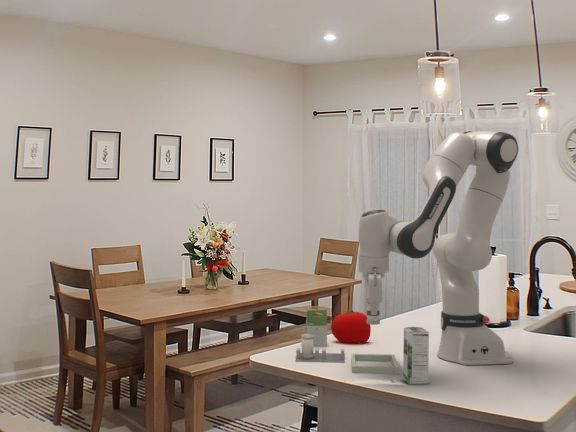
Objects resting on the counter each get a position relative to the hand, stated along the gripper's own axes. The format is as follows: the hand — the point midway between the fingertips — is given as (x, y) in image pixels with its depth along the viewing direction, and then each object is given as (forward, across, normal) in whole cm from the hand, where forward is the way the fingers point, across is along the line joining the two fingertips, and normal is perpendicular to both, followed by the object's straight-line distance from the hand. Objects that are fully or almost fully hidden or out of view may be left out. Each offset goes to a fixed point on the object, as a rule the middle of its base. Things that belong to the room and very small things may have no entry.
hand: (373, 312), depth 167 cm
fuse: (+3, 0, 0) cm, 3 cm away
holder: (+17, +8, +16) cm, 25 cm away
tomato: (+17, +30, +6) cm, 35 cm away
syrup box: (+17, -9, -11) cm, 22 cm away
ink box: (+17, +23, +18) cm, 34 cm away
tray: (+17, 0, 0) cm, 17 cm away
